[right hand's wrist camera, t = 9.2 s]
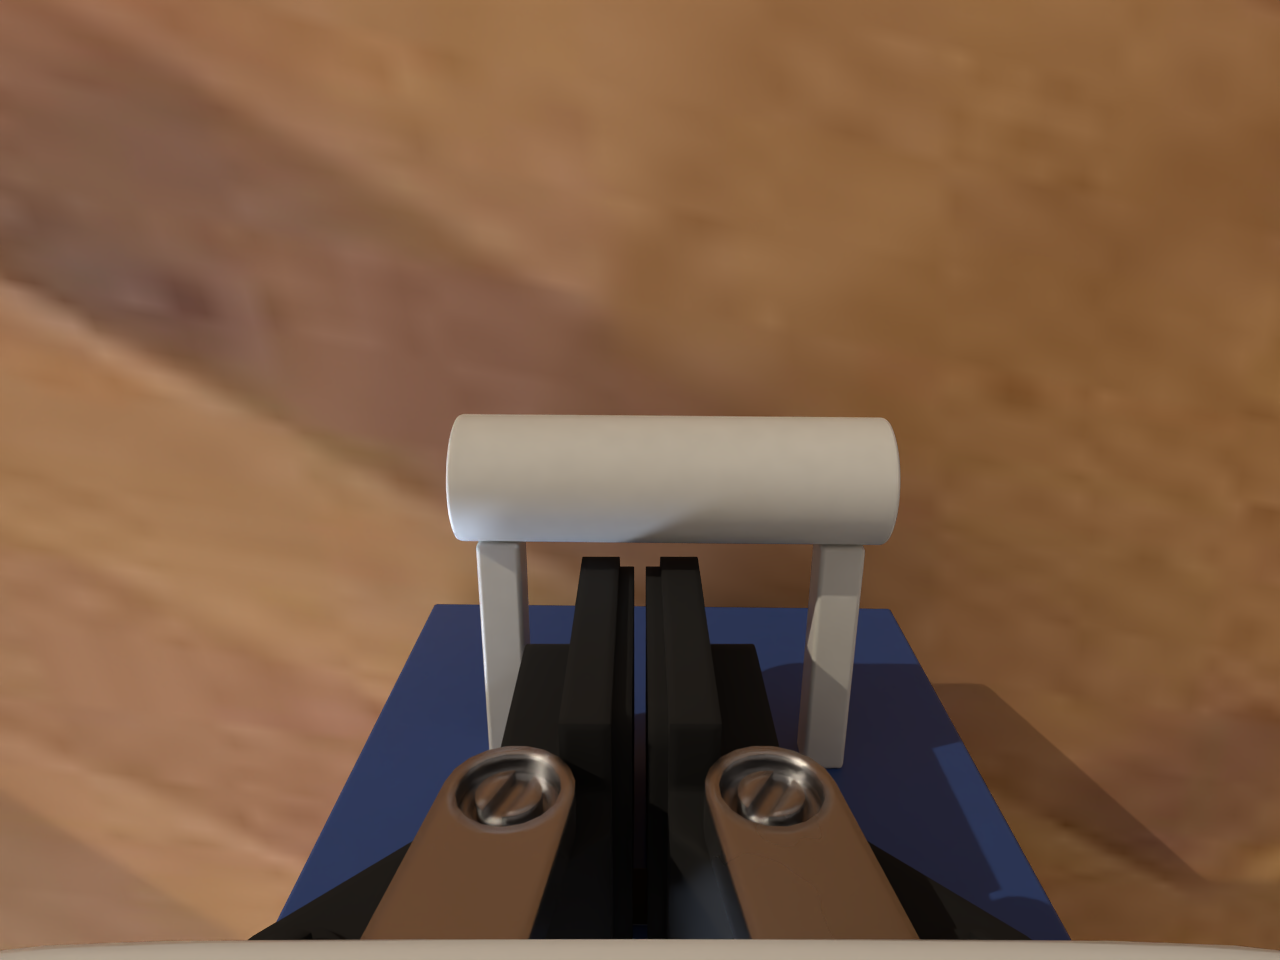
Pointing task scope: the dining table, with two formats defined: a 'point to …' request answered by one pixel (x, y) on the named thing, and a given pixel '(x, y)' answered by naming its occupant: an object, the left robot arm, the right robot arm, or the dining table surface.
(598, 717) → the right robot arm
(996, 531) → the dining table surface
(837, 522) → the drawer
